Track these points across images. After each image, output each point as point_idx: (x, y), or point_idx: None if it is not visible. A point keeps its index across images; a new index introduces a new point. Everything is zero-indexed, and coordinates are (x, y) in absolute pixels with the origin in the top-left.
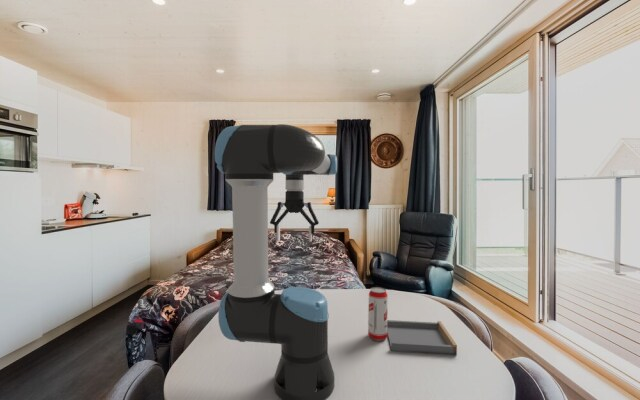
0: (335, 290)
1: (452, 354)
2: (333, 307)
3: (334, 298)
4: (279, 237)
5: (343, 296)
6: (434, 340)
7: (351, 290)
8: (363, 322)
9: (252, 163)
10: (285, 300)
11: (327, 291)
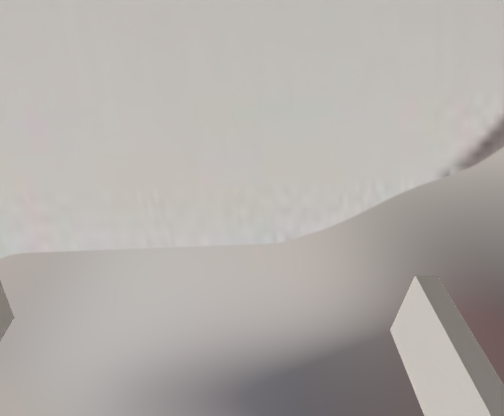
0: (78, 244)
1: None
2: (41, 64)
3: (62, 165)
4: (413, 347)
5: (28, 187)
6: None
7: (11, 246)
8: None
9: None
10: None
11: (109, 233)
